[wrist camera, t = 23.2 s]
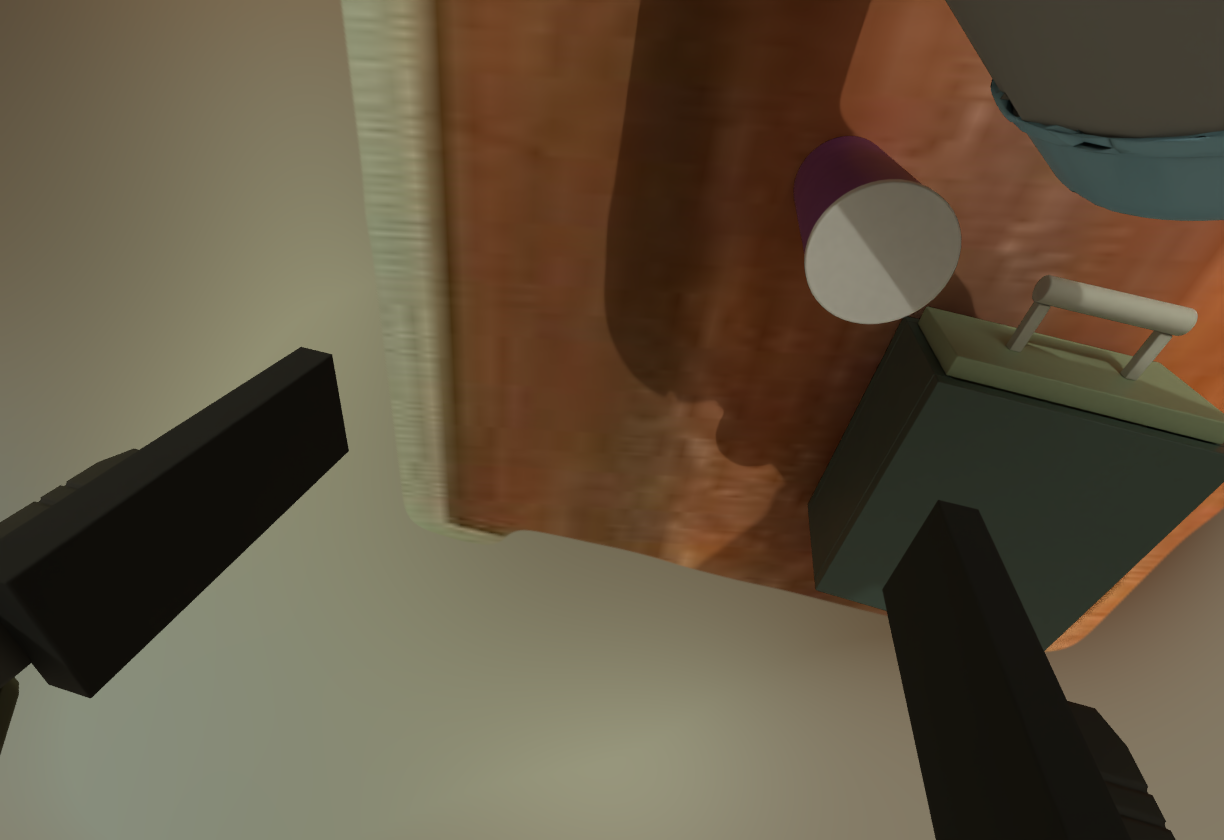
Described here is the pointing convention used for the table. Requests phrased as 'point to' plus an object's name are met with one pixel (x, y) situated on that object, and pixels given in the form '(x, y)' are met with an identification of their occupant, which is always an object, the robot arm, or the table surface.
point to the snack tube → (871, 233)
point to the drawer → (1079, 359)
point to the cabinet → (999, 486)
